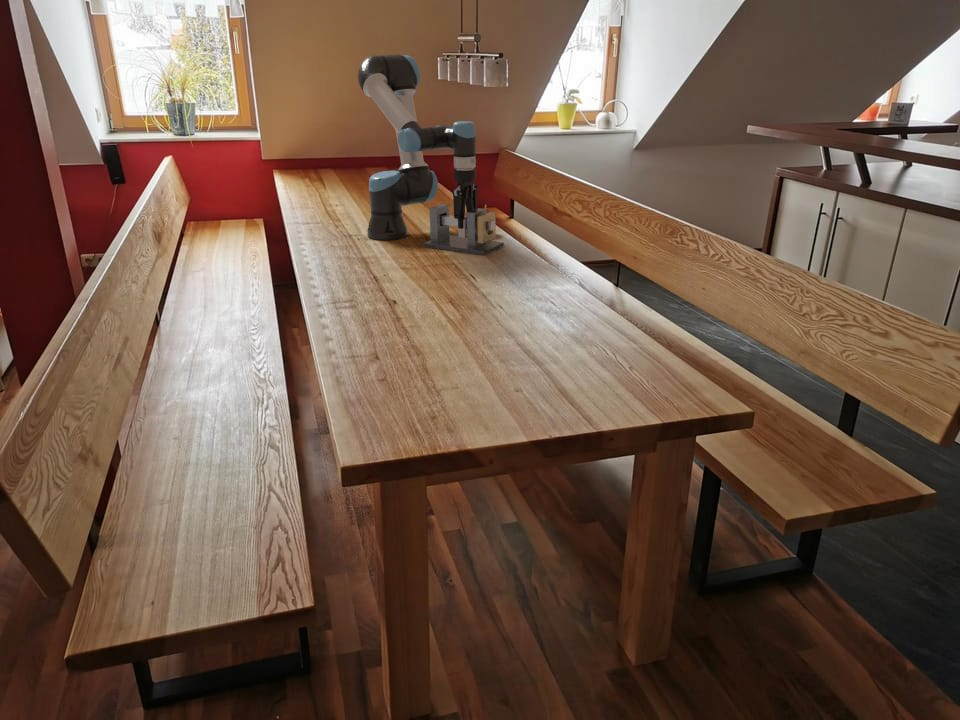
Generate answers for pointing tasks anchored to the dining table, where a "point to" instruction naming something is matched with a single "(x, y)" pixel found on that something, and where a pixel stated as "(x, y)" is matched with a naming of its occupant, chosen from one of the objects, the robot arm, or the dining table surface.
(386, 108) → the robot arm
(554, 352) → the dining table surface
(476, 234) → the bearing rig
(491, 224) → the shaft
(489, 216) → the block
